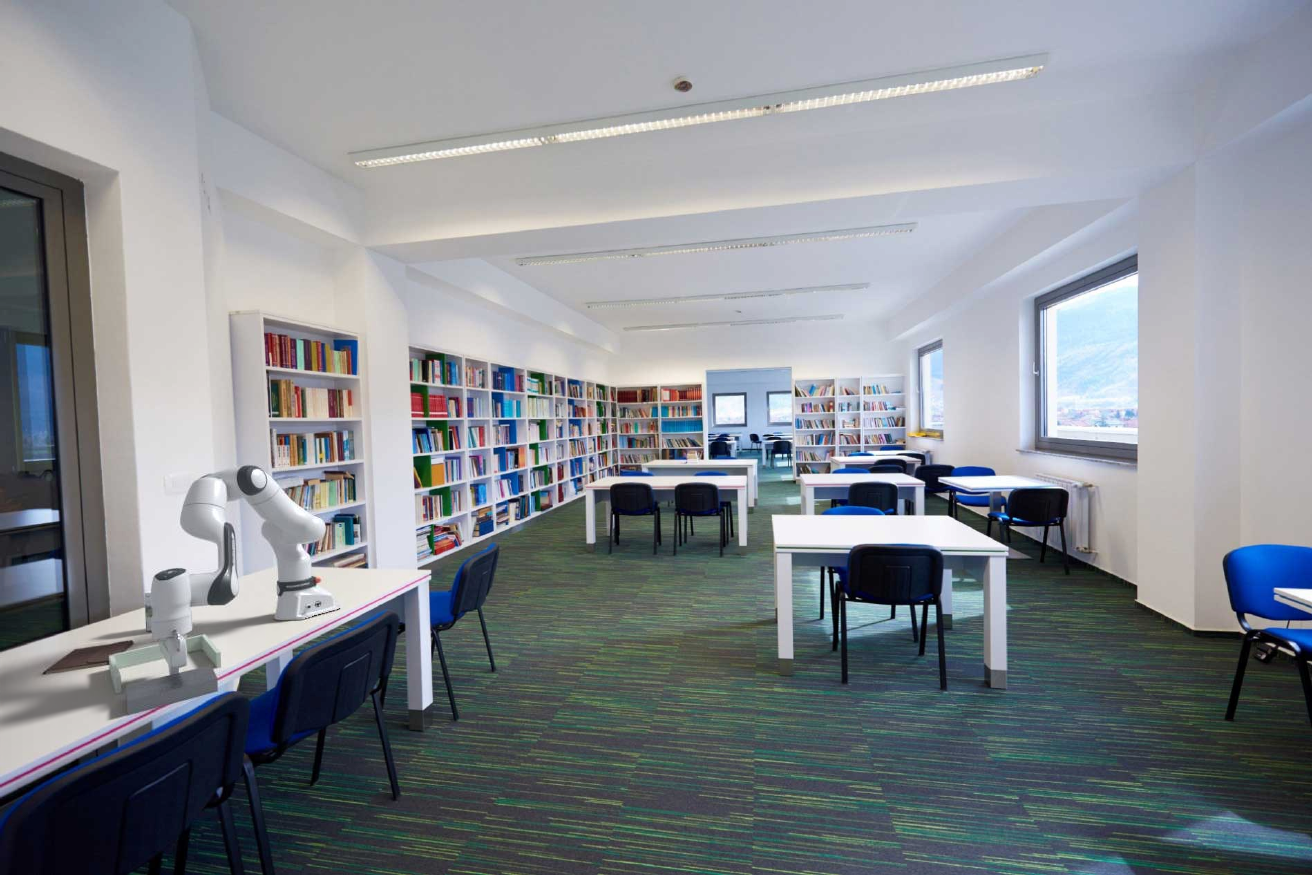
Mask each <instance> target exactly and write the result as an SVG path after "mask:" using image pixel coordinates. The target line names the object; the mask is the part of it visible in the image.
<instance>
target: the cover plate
mask: <svg viewBox="0 0 1312 875" xmlns="http://www.w3.org/2000/svg"><path fill="white" fill-rule="evenodd" d="M218 685H219V684H218V676H217V674H216V672H215V671H214V668H213V666H212V664H211V665H206V666H202V667H197V668H194V669H190V670H185V671H181V672H180V671H179V673H176V674H172V675H170V674H169V675H164V676H160V677H155V678H152V679H148V680H143V681H139V682H135V683H134V682H133V683H131V684H126V686H125V688H126V690H125V692H126V693H125V694H126V708H127V709H126V710H127V716H130V715H133V714H138V713H142V712H146V711H148V710H149V711H150V710H153V709H156V708H157V709H158V708H161V707H163V706H167V705H171V704H176V703H179V702H182V701H186V700H191V699H194V698H198V697H201V696H205V695H209V694H213V693H217V692H218V691H219V686H218Z"/></svg>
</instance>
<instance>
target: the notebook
mask: <svg viewBox="0 0 1312 875" xmlns="http://www.w3.org/2000/svg"><path fill="white" fill-rule="evenodd" d="M133 645H134V641H133V640H131V639H130V640H125V641H119V642H113V643H108V644H102V645H93V646H87V647H86V646H85V647H81V648H75V649H73V650H72V651H71V652H69V653H67V654H66V655H65V656H63V657H62V658H60V659H59V660H57V661H56V662H54V664H52V665H50V667H48V668H47V669H45V670H43V672H42V675H43V676H44V675H51V674H50V673H52V674H56V673H62V672H63V673H65V672H69V671H70V672H71V671H76V670H83V669H90V668H96V667H103V666H109V655H113V654H117V653H122V652H126V651H127V650H128V649H129V648H131V647H132V646H133Z"/></svg>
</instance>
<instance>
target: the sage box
mask: <svg viewBox="0 0 1312 875" xmlns="http://www.w3.org/2000/svg"><path fill="white" fill-rule="evenodd" d="M185 641H186V648H187V654H188V653H192V652H196V651H200V650H201V651H203V653H205V655H206V656H207V657H208V658H209V660H210V661H211V663H212V664H213V665H214V667H215V668H216V669H218V668H222V657H221V656H222V655H221V651H220V650H219V649H218V648H217V646H216V645H215V644H214V643H213V642H212V641H211V639H210V638H209V637H208V635H207V634H206V633H203V634H199V635H196V636H195V635H194V636H190V637H185ZM163 659H165V658H164V657H163V655H162V653H161V651H160V648H159V643H158V644H153V645H150V646H145V647H141V648H136V649H132V650H128V651H127V650H126V651H125V652H122V653H117V654H113V655H109V665H108V668H109V669H108V670H109V674H110V676H111V677H110V678H111V681H112V683H113V687H114V691H115V694H116V695H117V694H122V676H121V673H120V669H124V668H129V667H132V666H137V665H141V664H146V663H151V662H154V661H158V660H159V661H160V660H163Z"/></svg>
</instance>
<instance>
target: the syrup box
mask: <svg viewBox="0 0 1312 875" xmlns="http://www.w3.org/2000/svg"><path fill="white" fill-rule="evenodd" d="M144 611H145V612H144V616H145V632H152V625H151V619H152V615H153V609H152V607H151V589H150V590H148V591H145V592H144Z"/></svg>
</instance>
